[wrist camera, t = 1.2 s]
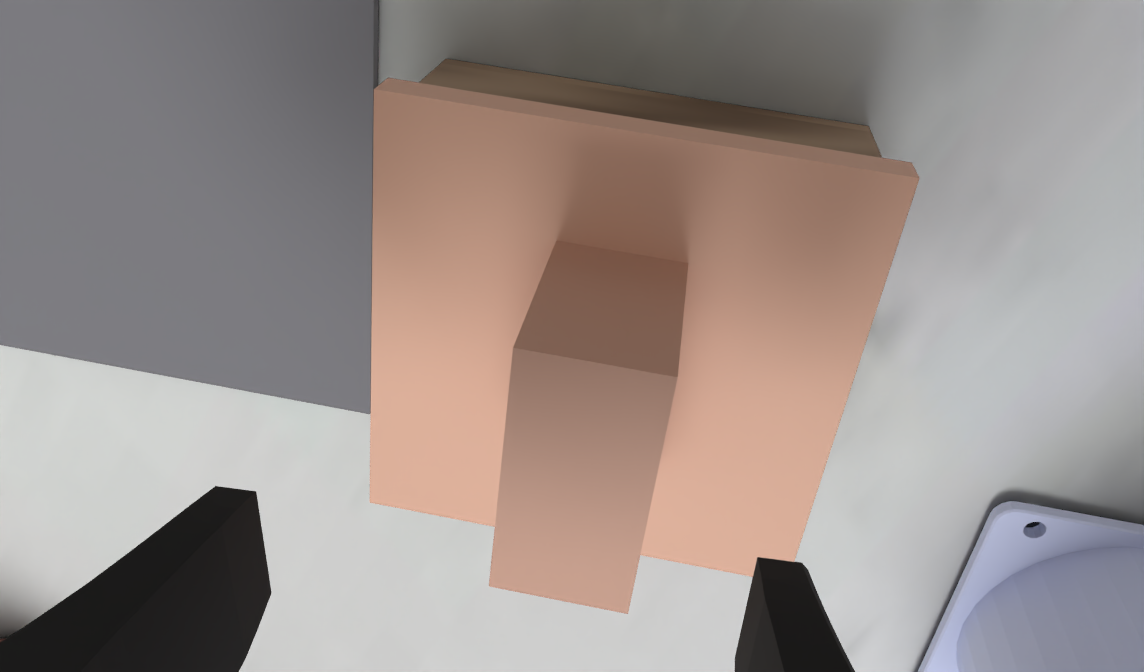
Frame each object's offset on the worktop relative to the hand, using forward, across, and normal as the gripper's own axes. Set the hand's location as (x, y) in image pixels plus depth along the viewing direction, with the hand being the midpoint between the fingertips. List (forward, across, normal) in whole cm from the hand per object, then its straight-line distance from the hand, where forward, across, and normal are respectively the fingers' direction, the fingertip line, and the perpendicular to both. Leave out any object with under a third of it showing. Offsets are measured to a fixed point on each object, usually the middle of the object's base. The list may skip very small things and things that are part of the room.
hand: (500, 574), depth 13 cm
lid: (+7, -1, 0) cm, 7 cm away
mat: (+10, +11, -1) cm, 15 cm away
